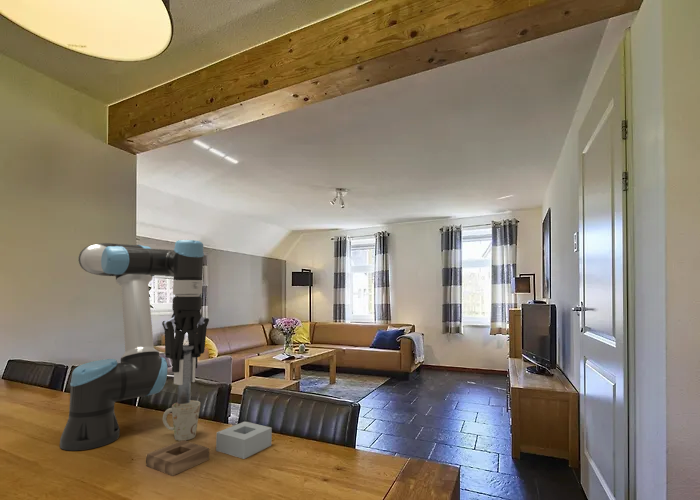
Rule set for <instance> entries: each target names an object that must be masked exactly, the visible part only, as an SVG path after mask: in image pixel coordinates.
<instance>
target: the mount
mask: <svg viewBox="0 0 700 500" xmlns="http://www.w3.org/2000/svg"><path fill="white" fill-rule="evenodd" d="M209 460H210V447H208V446H204V445H201V444H198V443H194V442H192V441H189V440H182V441H179V440H178V441H177V442H174V443H172V444H168V445H167V446H164V447H162V448H158V449H156V450H153V451H150V452H148V453H146V460H145V466H146V467H147V468H151V469H153V470H156V471H159V472H161V473H163V474H166V475H170V476H171V477H174V476H176V475H179V474H180V473H183V472H184V471H187V470H189V469H192V468H193V467H196V466H198V465H200V464H202V463H205V462H206V461H209Z"/></svg>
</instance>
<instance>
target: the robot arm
mask: <svg viewBox="0 0 700 500" xmlns="http://www.w3.org/2000/svg"><path fill="white" fill-rule="evenodd" d="M204 256H205V253H204V243H203V242H202V241H200V240H193V239H180V240H176V241H175V244H174V248H173V249H165V248H164V249H162V248H152V247H150V246H148V245H142V244H127V243H126V244H124V243H111V242H100V243H93V244H90V245H87V246H86V247H84V248H83V249H82V250H81V251H80V253H79V254H78V261H77V262H78V265H79V266H80V268H81V269H82V270H83V271H84V272H87V273H89V274H92V275H96V276H101V277H102V276H104V277H115V282H116V284H117V285H119V286H120V288H121V302H122V303H121V304H122V306H121V307H122V318H123V320H122V321H123V334H124V335H123V336H124V348H125V349H124V350H125V351H124V353H123V354H122V355H121V357H120V362H117V360H116V359H115V358H106V359H98V360H93V361H89V362H86V363H83V364H80V365H79V366H77V367H75V368H74V369H73V371H72V373H71V379H70V383H69V385H70V392H69V395H70V396H69V408H68V409H69V411H68V419H67V422H66V424H65V426H64V428H63V431H62V432H61V436H60V439H59V440H60V441H59V448H60V449H61V450H65V451H84V450H91V449H96V448H101V447H103V446H107V445H109V444H112V443H114V442H115V441H117V440H118V439H119V438H120V426H119V423H118V419H117V416H116V413H115V403H116V402H120V401H126V400H130V399H136V398H140V397H148V396H152V395H156V394H159V393H160V392H161V391H162V390H163V389H164V387H165V384H166V382H167V377H168V361H167V360H166V359H170V360H171V361H172V363H171V371H172V373H173V385H177V386H178V385H183V360H182V359H181V354H182V349H183V345H184V341H185V336H186V334H187V342H188V345H194V349H193V350H192V363H191V383H195V382H196V369H197V368H198V359H199V358H200V357H202V356H201V355H202V354H204V353H205V351H206V350H205V349H206V348H205V347H206V339H207V338H206V337H207V328H208V325H209V322H210V319H209V318H207V317H203V316H202V314H201V310H202V306H203V305H202V304H203V303H202V302H203V298H202V296H200V295H202V294H203V274H204ZM154 276H167V277H169V276H170V277H173V283H172V294H173V295H174V296H173V298H172V305H171V306H172V311H173V312H172V313H173V314H172V315H171V317H170V319H168V320H164V321H161V325H162V328H163V330H164V354H165V355H164V356H165V358H164V357H160V351H159V350H158V349H156V348H155V346H154V335H153V324H152V313H151V300H150V290H149V284H150V283H151V281H152V280H153V277H154ZM174 327H175V328H174Z"/></svg>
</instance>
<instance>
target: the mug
mask: <svg viewBox="0 0 700 500" xmlns="http://www.w3.org/2000/svg"><path fill="white" fill-rule="evenodd" d="M200 409H201V402H200V400H191V399H190V402H189V403H186V404H178V403H177V402H175V403H173V404H172V405H171V407H170V408H167V409H166V410H165V411H164V412H163V415H162V423H163V425H164V427H166V429H167V430H169V431H173V436H174V440H175V441H178V442H179V441H182V440H185V441H189V440H192V439H194V438H195V437H196V435H197V428H198V423H199V418H200V417H199V416H200ZM170 413H171V414H172V415H171V417H172V424H173V426H171V425H170V424H169V423H168V421H167V418H168V417H167V416H168V415H169V414H170Z"/></svg>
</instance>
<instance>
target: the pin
mask: <svg viewBox="0 0 700 500" xmlns="http://www.w3.org/2000/svg"><path fill="white" fill-rule="evenodd" d="M193 349H194V345H189V344H183V349H182V354H181V359H182V360H183V385H177V402H176V403H178V404H186V403H189V402H190V400H191V390H192V389H191V387H192V385H191V384H192V382H191V363H192V350H193Z"/></svg>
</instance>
